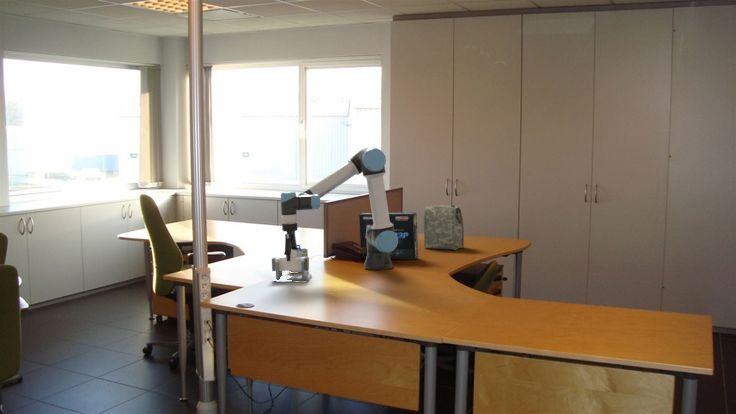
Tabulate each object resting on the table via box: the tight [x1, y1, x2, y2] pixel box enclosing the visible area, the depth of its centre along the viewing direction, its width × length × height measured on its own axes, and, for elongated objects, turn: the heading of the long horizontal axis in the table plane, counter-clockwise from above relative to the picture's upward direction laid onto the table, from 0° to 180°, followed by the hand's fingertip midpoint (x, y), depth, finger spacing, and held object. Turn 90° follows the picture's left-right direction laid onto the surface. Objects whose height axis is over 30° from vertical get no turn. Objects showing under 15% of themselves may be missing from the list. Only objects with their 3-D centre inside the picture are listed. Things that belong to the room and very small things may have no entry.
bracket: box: [275, 261, 312, 282], centre depth 344 cm, size 18×12×10 cm, turn 86°
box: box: [358, 212, 419, 261], centre depth 396 cm, size 33×8×27 cm, turn 68°
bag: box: [422, 204, 465, 251], centre depth 428 cm, size 22×16×27 cm
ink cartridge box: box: [291, 244, 310, 272], centre depth 363 cm, size 10×6×14 cm, turn 114°
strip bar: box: [271, 256, 310, 272], centre depth 343 cm, size 18×4×6 cm, turn 86°
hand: (291, 265), depth 343 cm, fingers open, 13 cm apart
